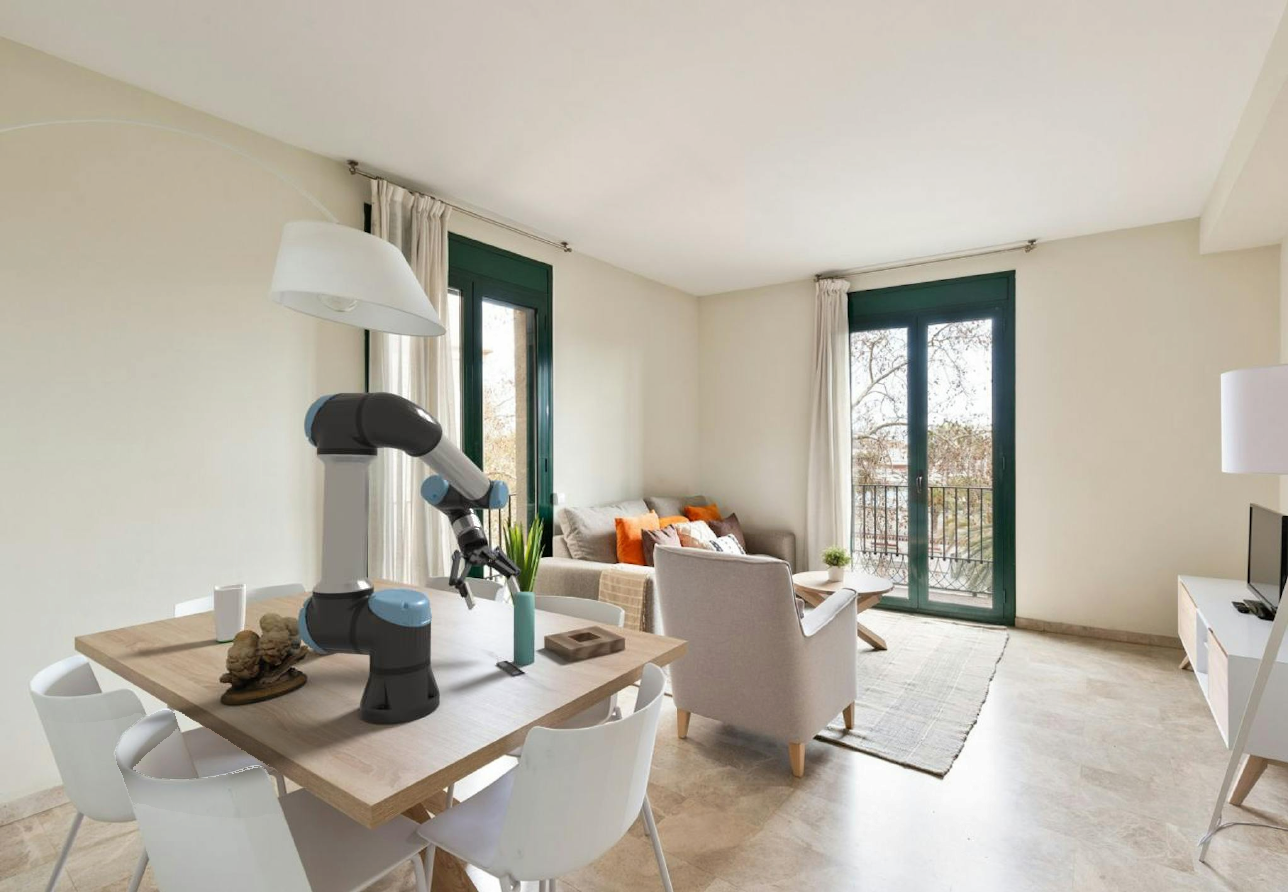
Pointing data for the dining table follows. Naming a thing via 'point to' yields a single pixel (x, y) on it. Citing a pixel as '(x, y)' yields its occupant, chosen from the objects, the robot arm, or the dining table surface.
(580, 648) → the walnut holder
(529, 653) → the teal peg
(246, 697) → the brown lumpy sculpture
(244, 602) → the cup
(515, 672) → the charcoal mat
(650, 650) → the dining table surface
